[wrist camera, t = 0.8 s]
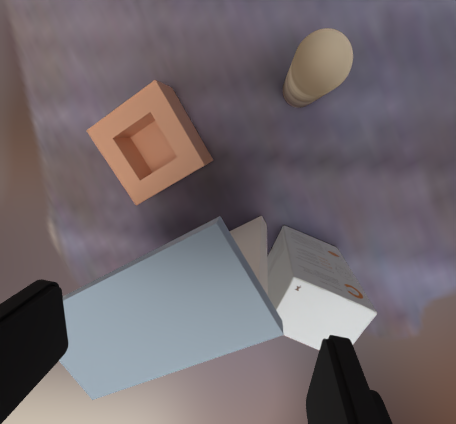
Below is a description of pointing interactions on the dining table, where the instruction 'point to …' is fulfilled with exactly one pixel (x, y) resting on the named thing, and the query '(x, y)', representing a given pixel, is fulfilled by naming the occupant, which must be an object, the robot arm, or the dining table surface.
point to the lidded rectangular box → (171, 309)
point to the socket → (150, 142)
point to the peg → (317, 67)
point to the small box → (315, 290)
